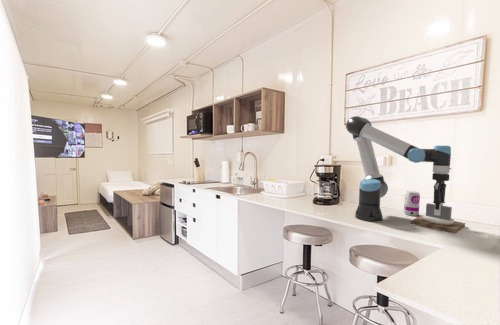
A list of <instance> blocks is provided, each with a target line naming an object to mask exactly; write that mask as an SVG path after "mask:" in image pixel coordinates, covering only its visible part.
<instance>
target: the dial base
mask: <svg viewBox="0 0 500 325" xmlns="http://www.w3.org/2000/svg"><path fill="white" fill-rule="evenodd" d="M410 224H411V225H413V226H419V227H424V228H428V229H433V230H436V231H437V230H438V231H442V232H446V233H449V234H451V233H452V234H457V233H458V232H459V231H461V230H462V229H464V228H465V226H466V222H461V221H455V220H454V224H453V225H441V224H435V223H430V222H427V221H425V220H423V215H421V216H417V217H416V218H414V219H411V220H410Z"/></svg>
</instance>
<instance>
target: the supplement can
mask: <svg viewBox="0 0 500 325" xmlns="http://www.w3.org/2000/svg"><path fill="white" fill-rule="evenodd" d="M420 200H421V195H420V191H419V192H418V191H416V190H415V191H414V190H406V191H405V193H404V202H403V203H404V204H403V205H404V206H403V213H404V214H405V215H406V216H412V217H416V216H417V217H419V215H420V203H421V202H420Z"/></svg>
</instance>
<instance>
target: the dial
mask: <svg viewBox="0 0 500 325" xmlns="http://www.w3.org/2000/svg"><path fill="white" fill-rule="evenodd" d="M434 209H435V203H429V202H428V203H426V206H425V214H422V216H423V220H425V221H427V222H430V223H435V224H441V225H453V224H454V221H455V219H454V218H452V211H453V210H452V209H453V207H452V206H447V205H443V206H442V205H441V213H440V216H438V215H434Z"/></svg>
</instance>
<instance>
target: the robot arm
mask: <svg viewBox="0 0 500 325" xmlns="http://www.w3.org/2000/svg"><path fill="white" fill-rule="evenodd" d="M345 128H346V131H347V132H348V133H350V134H351V135H352V140H353V141H354V142H356V145H357V147H358V151H359V152H358V153H359V155H360V159H361V164H362V168H363V171H364V175H365V177H364V178H363V179H361V180H360V181H359V184H358V185H359V187H358V188H359V189H358V190H359V192H358V206H357V208H356V211H355V213H354V214H355V215H354V217H355V218H356V219H358V220H361V221H366V222H382V221H383V219H384V218H383V213H382V209H381V198H383V197H385V195H386V194H387V193H388V191H389V186H388V184H387V182H386V181H385V178H384V175H383V174H381V173H380V170H379V167H378V161H377V157H376V155H375V154H376V153H375V151H374V146H373V143H372V142H374V143H375V144H377V145H378V146H381V147H383V148H385V149H387V150H388V151H389V150H390V151H391V152H394V153H395V154H398V155H399V156H402V157H403V158H405V159H407V160H408V161H409V162H412V163H415V164H417V163H421V162H422V163H432V176H431V177H432V178H431V179H432V180H433V181H435V183H434V185H433V202H432V204H435V209H434V215H438V216H440V213H441V205H442V206H444V204H445V203H446V201H445V199H446V189H447V184H446V183H445V182H448V181H450V170H451V169H452V168H451V159H452V157H451V156H452V147H451V146H450V145H435V146H434V147H433V148H419V147H418V146H415V145H412V144H411V143H408V142H406V141H404V140H401V139H400V138H397V137H396V136H393V135H392V134H389V133H387V132H385V131H383V130H381V129H379V128H376V127H374V126H373V125H372V122H371V121H370V120H369V119H367V118H366V117H365V118H364V117H361V116H359V115H358V116H357V115H356V116H352V117H350V118H348V119H347V121H346V124H345Z"/></svg>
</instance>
